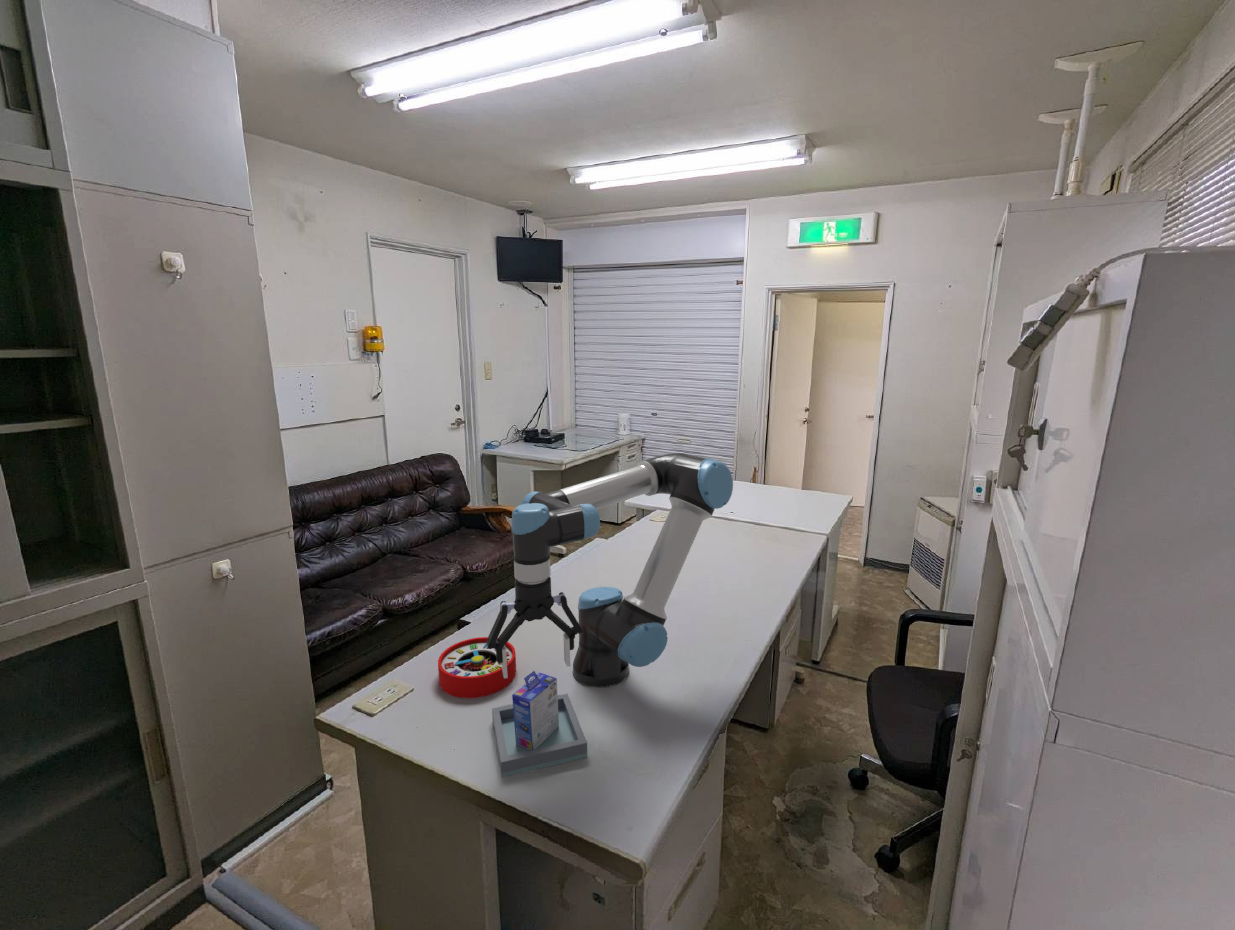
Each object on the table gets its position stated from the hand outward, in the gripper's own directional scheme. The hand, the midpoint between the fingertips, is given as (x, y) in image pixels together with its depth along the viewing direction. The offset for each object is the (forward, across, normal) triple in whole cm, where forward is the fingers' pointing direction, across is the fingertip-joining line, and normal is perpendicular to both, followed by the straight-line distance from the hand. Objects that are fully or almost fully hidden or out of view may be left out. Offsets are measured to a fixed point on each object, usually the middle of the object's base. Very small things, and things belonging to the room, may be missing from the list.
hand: (536, 668), depth 119 cm
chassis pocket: (+17, 0, 0) cm, 17 cm away
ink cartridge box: (+16, 0, 0) cm, 16 cm away
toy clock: (+18, +11, -29) cm, 36 cm away
